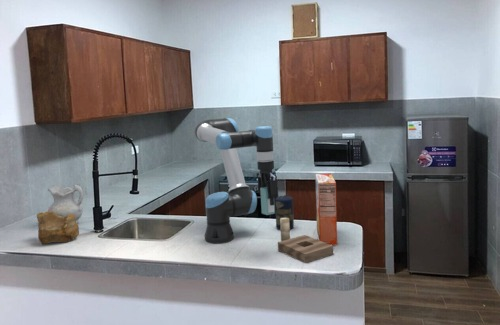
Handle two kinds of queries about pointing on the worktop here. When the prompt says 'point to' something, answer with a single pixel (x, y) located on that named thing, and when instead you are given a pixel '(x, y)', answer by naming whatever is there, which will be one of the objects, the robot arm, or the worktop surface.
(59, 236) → the rough brown rock
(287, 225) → the round dowel
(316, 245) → the socket block
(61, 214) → the ceramic pitcher
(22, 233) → the worktop surface
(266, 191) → the square peg
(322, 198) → the pasta box
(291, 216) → the canister
